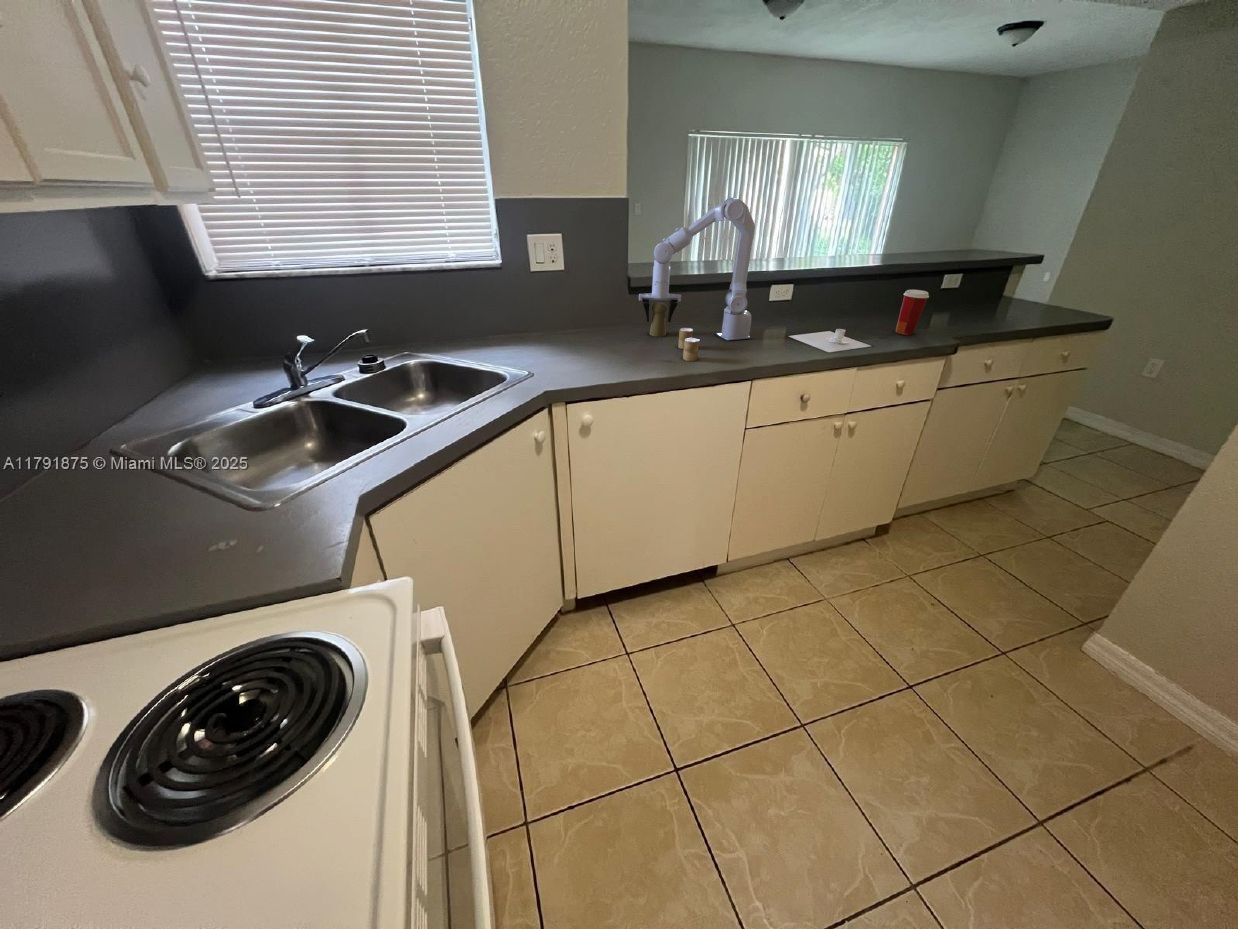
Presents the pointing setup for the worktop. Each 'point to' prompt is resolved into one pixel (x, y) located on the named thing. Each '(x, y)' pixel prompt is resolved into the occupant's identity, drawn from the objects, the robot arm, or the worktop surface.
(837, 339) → the teacup and saucer
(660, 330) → the cork
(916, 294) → the coffee cup
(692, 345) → the post
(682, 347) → the post
